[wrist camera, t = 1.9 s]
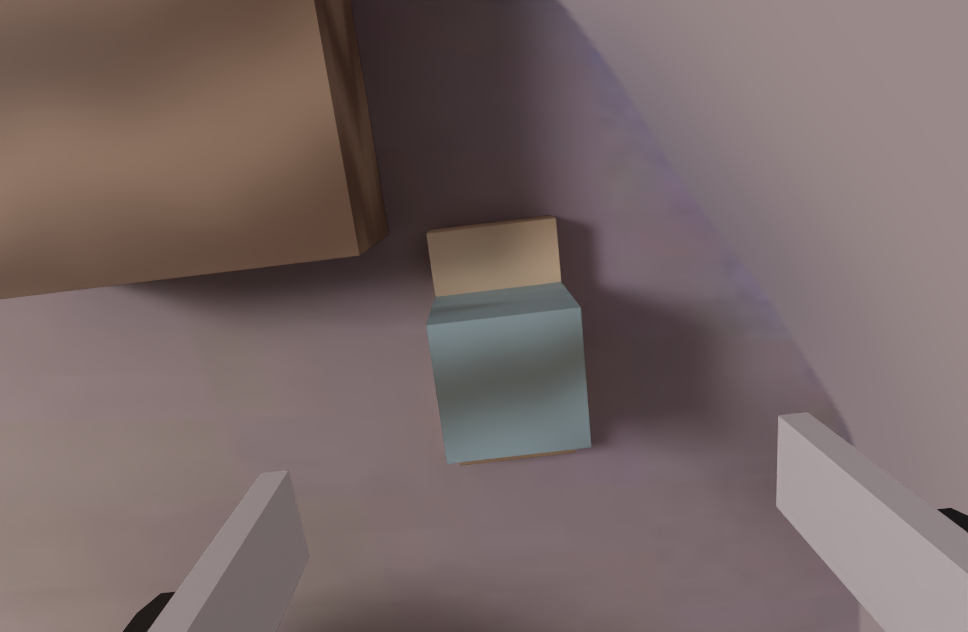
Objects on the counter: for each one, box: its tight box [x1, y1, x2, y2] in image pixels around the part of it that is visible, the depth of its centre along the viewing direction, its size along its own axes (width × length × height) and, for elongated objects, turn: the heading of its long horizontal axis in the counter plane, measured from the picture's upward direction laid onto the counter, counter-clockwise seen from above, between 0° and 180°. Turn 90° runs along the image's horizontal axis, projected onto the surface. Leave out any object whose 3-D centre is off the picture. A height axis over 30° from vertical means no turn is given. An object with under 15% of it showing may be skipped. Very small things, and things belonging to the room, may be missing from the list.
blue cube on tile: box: [426, 215, 591, 466], centre depth 25 cm, size 12×6×7 cm, turn 7°
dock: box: [0, 0, 389, 299], centre depth 20 cm, size 16×16×10 cm
